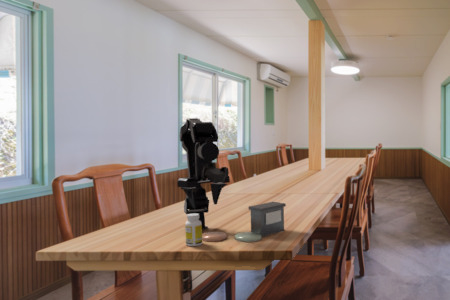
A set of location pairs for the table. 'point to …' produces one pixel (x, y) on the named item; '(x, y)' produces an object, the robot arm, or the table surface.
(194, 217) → the supplement bottle
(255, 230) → the box unit
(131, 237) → the table surface
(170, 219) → the table surface
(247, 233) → the sage coaster
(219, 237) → the peach domed disc
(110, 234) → the table surface
